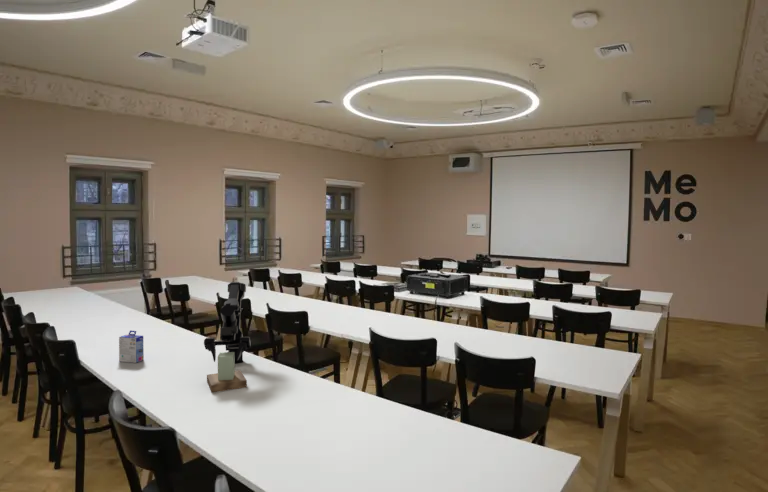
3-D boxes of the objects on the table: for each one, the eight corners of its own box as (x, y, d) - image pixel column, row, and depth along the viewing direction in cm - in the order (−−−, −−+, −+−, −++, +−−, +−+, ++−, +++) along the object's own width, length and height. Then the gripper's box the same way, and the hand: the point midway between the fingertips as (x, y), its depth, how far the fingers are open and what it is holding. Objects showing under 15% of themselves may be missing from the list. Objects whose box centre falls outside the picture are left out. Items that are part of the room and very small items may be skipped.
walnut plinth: (240, 376, 212) (240, 370, 212) (246, 387, 200) (246, 380, 200) (206, 381, 206) (206, 374, 206) (211, 392, 194) (211, 385, 193)
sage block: (220, 375, 205) (219, 352, 205) (234, 374, 206) (234, 352, 206) (217, 380, 199) (217, 356, 199) (232, 379, 200) (232, 356, 200)
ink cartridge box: (144, 359, 234) (143, 330, 233) (136, 363, 229) (135, 333, 228) (127, 358, 236) (126, 329, 235) (118, 361, 231) (117, 332, 230)
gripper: (204, 319, 203) (199, 352, 193) (249, 318, 207) (247, 350, 197) (208, 332, 212) (203, 365, 202) (251, 331, 215) (249, 363, 205)
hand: (225, 361), depth 201 cm, fingers open, 9 cm apart
